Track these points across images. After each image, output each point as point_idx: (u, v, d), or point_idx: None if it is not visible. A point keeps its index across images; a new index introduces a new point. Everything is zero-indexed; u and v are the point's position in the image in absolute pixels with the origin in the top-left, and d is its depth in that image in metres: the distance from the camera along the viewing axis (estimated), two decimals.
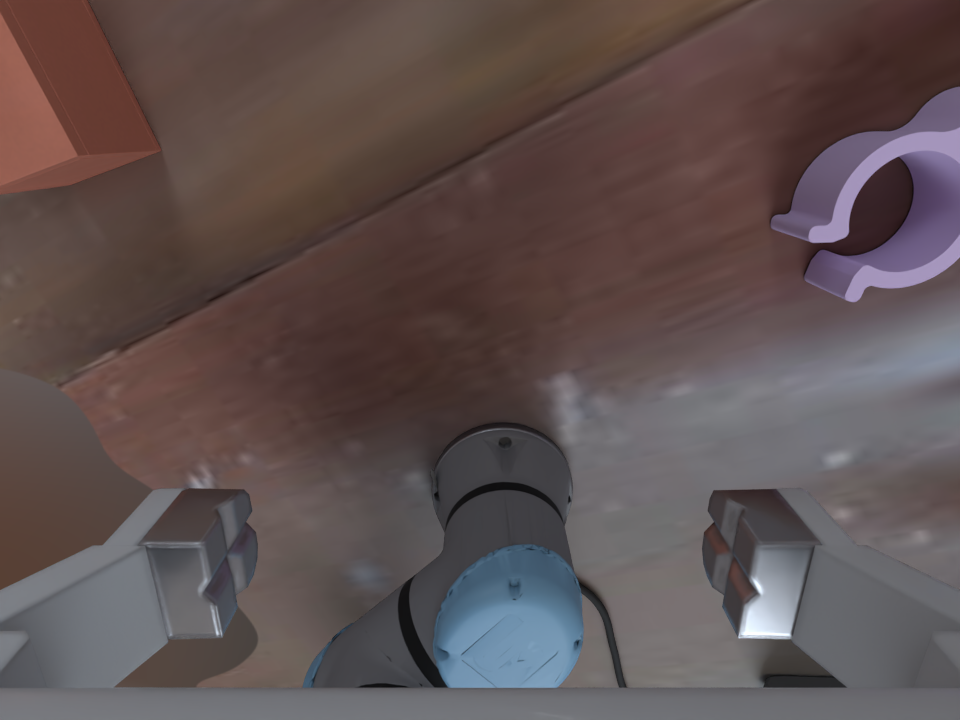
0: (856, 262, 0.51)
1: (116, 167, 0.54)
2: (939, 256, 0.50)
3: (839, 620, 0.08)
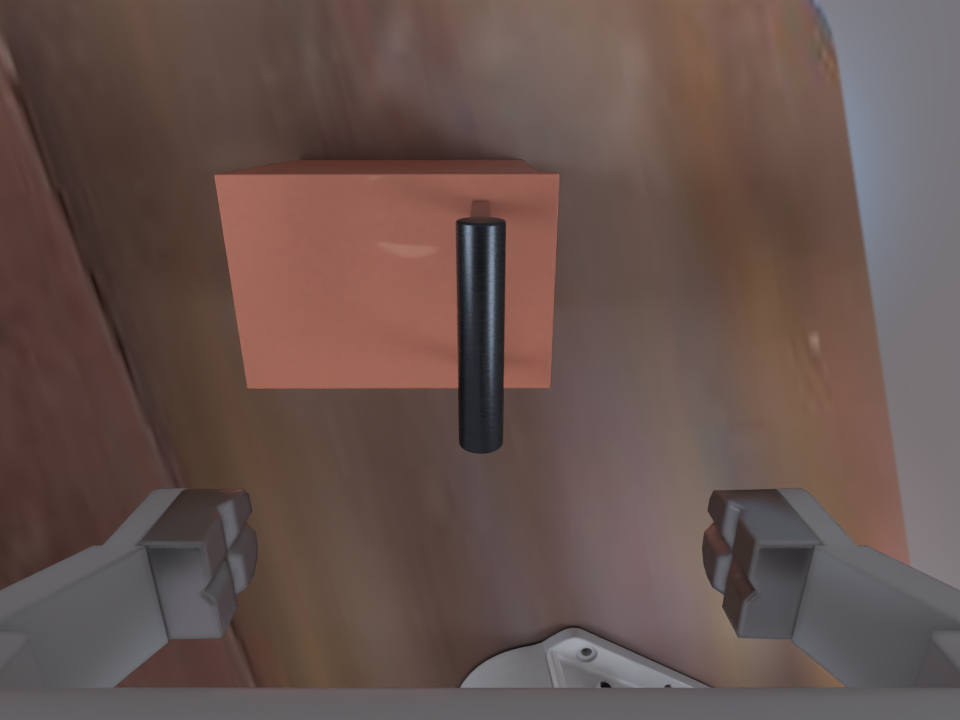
0: None
1: None
2: None
3: (839, 620, 0.08)
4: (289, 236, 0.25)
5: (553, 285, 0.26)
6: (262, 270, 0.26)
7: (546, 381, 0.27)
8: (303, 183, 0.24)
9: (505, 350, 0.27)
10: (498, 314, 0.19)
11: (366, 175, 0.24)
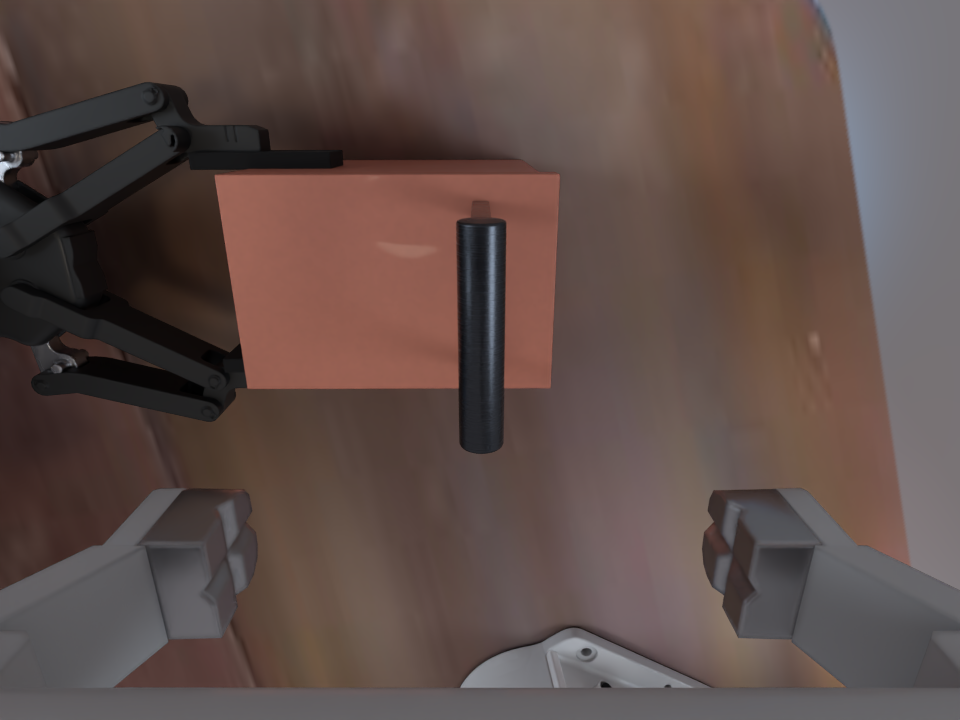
0: None
1: None
2: None
3: (839, 620, 0.08)
4: (289, 236, 0.25)
5: (553, 285, 0.26)
6: (262, 271, 0.26)
7: (546, 381, 0.27)
8: (303, 184, 0.24)
9: (505, 350, 0.27)
10: (498, 314, 0.19)
11: (366, 175, 0.24)
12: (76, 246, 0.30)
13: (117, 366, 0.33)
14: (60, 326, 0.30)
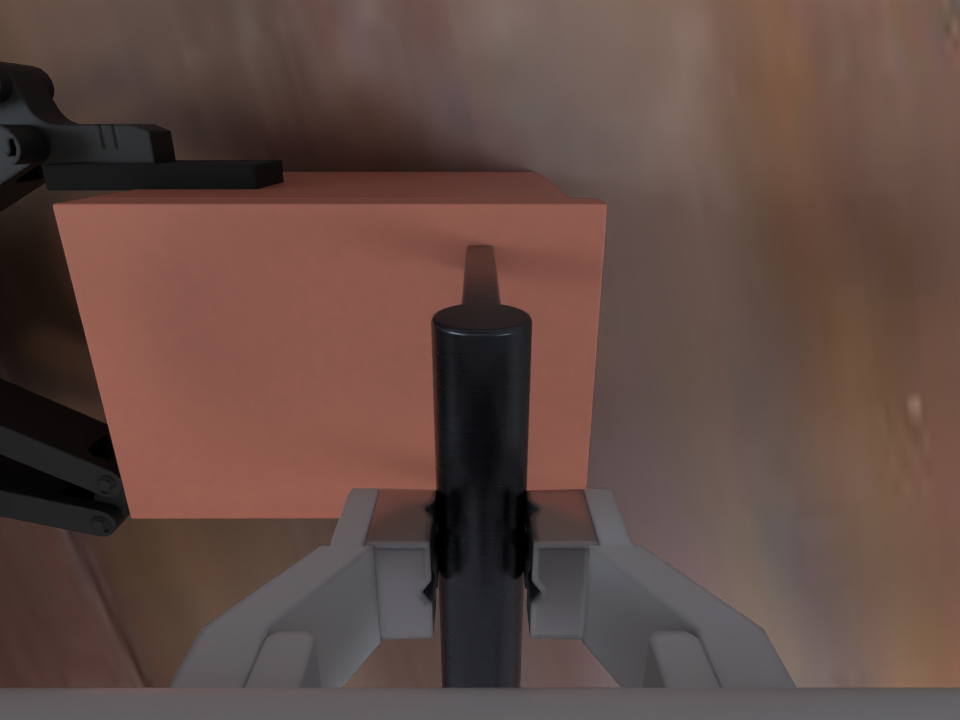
0: None
1: None
2: None
3: (611, 620, 0.08)
4: (179, 299, 0.16)
5: (592, 373, 0.17)
6: (140, 351, 0.16)
7: None
8: (195, 218, 0.15)
9: None
10: (515, 493, 0.10)
11: (297, 205, 0.15)
12: None
13: None
14: None
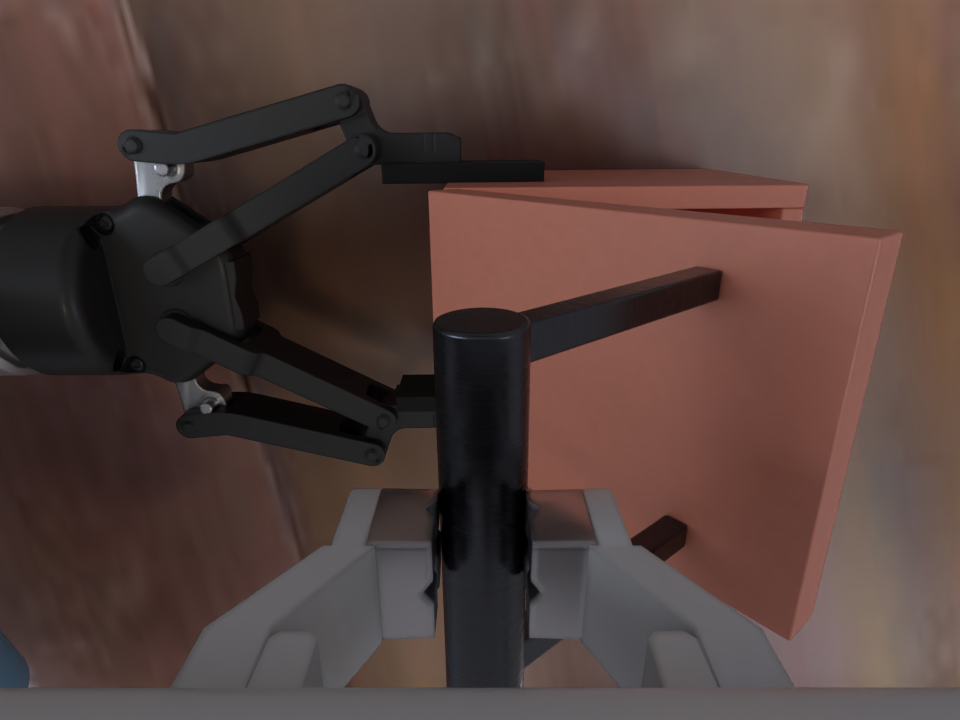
0: None
1: None
2: None
3: (610, 620, 0.08)
4: (479, 274, 0.20)
5: (827, 461, 0.12)
6: (455, 309, 0.21)
7: (783, 626, 0.14)
8: (495, 210, 0.18)
9: (717, 534, 0.15)
10: (482, 502, 0.10)
11: (558, 206, 0.16)
12: (238, 271, 0.26)
13: (266, 403, 0.29)
14: (218, 361, 0.26)
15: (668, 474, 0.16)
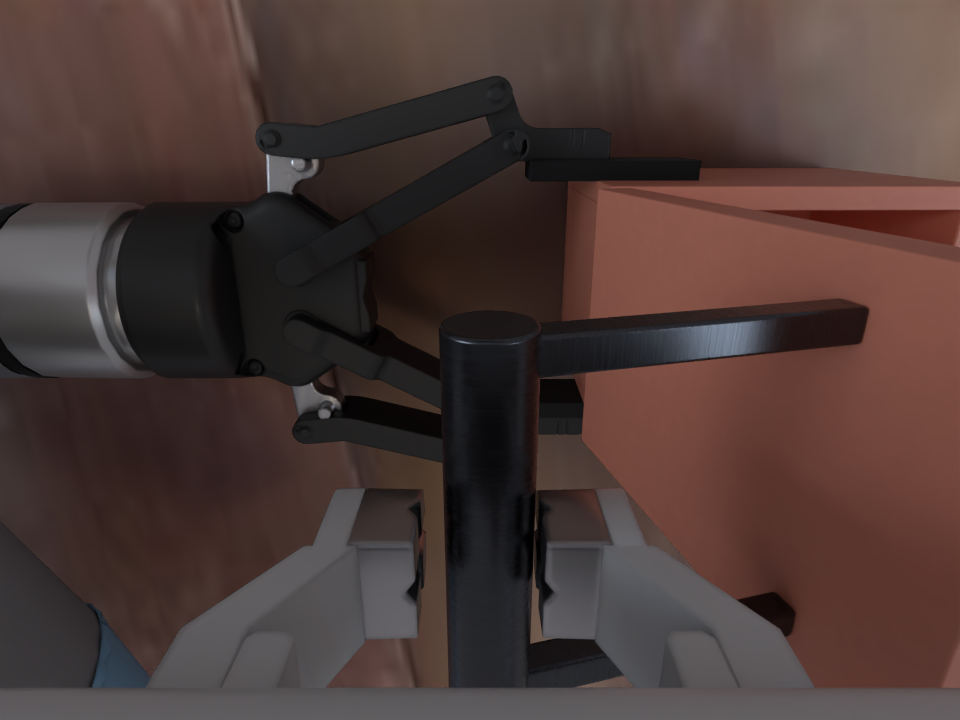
0: None
1: (564, 265, 0.32)
2: None
3: (625, 620, 0.08)
4: (630, 280, 0.18)
5: None
6: (607, 314, 0.20)
7: None
8: (651, 212, 0.17)
9: (827, 634, 0.12)
10: (468, 509, 0.09)
11: (706, 213, 0.14)
12: (367, 271, 0.25)
13: (379, 408, 0.28)
14: (344, 365, 0.25)
15: (782, 545, 0.13)
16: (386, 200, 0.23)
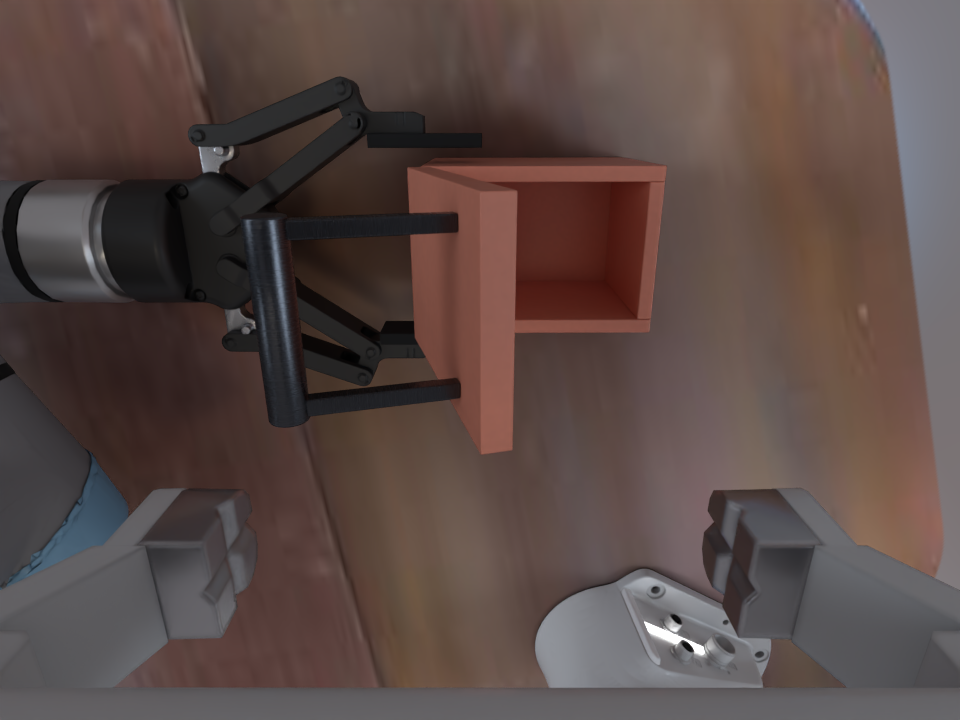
0: None
1: None
2: None
3: (839, 620, 0.08)
4: None
5: (480, 330, 0.20)
6: (415, 247, 0.31)
7: (478, 444, 0.22)
8: (419, 179, 0.28)
9: (466, 387, 0.23)
10: (258, 301, 0.21)
11: (430, 176, 0.26)
12: None
13: None
14: None
15: (456, 350, 0.24)
16: (277, 170, 0.35)
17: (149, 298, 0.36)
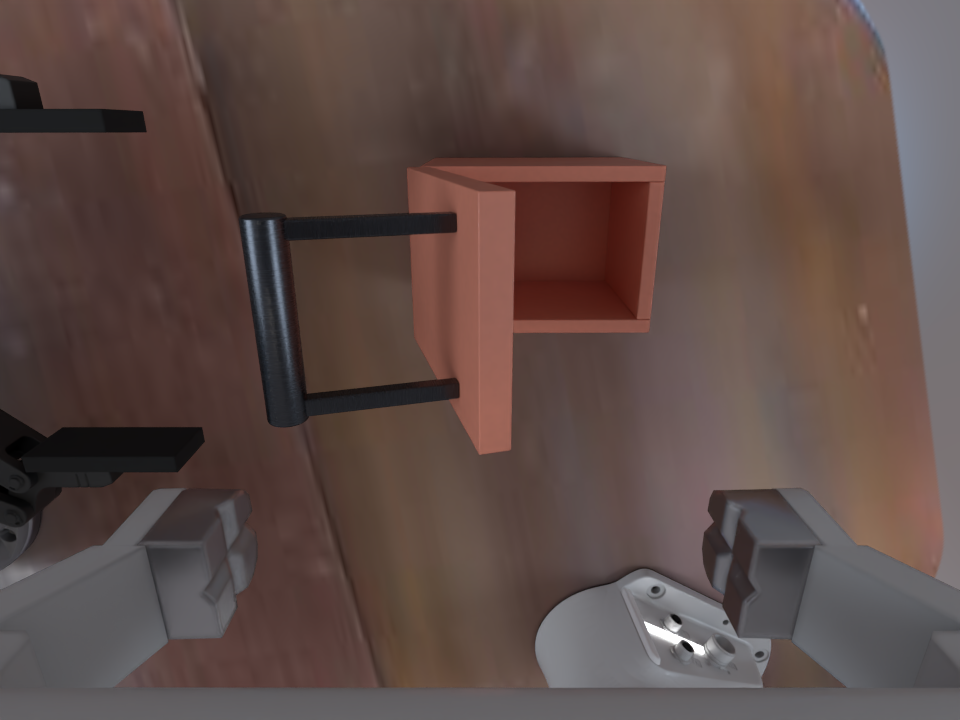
0: None
1: None
2: None
3: (839, 620, 0.08)
4: None
5: (478, 330, 0.20)
6: (414, 247, 0.31)
7: (477, 444, 0.22)
8: (419, 179, 0.28)
9: (464, 387, 0.23)
10: (257, 301, 0.21)
11: (429, 176, 0.26)
12: None
13: None
14: None
15: (454, 350, 0.24)
16: None
17: None
